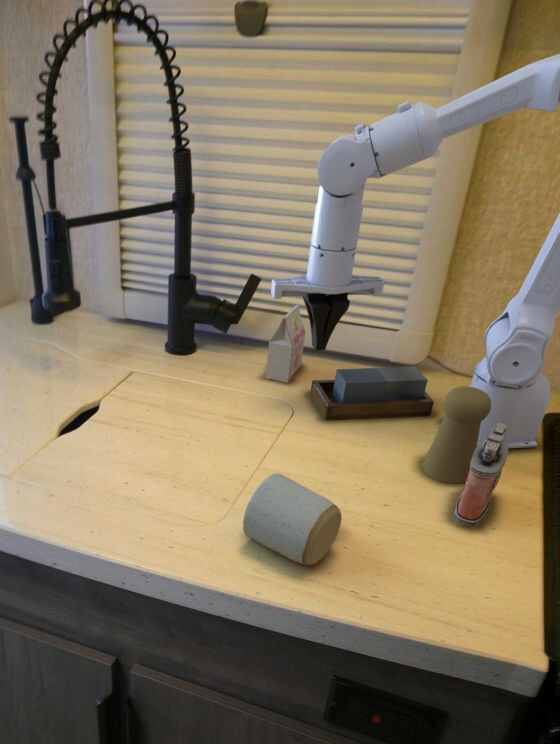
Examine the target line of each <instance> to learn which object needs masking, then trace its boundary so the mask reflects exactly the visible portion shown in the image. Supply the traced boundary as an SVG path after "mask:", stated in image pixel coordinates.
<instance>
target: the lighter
mask: <svg viewBox="0 0 560 744" xmlns="http://www.w3.org/2000/svg"><path fill="white" fill-rule="evenodd" d="M506 429H507V427H506V425H505V424H502V423H498V424H496V426H495V428H494V430H493V432H492V433H489V435H488V437H487V438H485V439H484V440H483V441H482V442H480V443H479V444H478V446H477V447H476V449H475V451H474V454H473V457H472V460H471V465H470V471H469V474H468V477H467V480H466V482H464V483H465V484H464V487H463V490H462V492H461V494H460V495H459V497H458V498H457V502H456V504H455V508H454V511H453V512H454V513H453V520H454V522H455V523H456V524H458V525H460V526H462V527H465V528H476V527H478V525H480V523H481V522H482V521H483V520H484V518H485V516H486V515H487V513H488V510H489V507H490V503H491V500H492V494H493V492H494V490H495V489H496V487H497V485H498V483H499V481H500V478H501V475H502V471H503V468H504V467H505V465H506V463H507V459H508V455H509V448H508V444H507V443H506V442H505V441H504V435H505V432H506Z"/></svg>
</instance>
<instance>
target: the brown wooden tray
mask: <svg viewBox="0 0 560 744" xmlns="http://www.w3.org/2000/svg"><path fill="white" fill-rule="evenodd" d="M375 368H376V369H377V370H378V371H379V372H380V373H381V375H382V376H383V377H384V378H385V380H386V381H387V384H386V388H385V393H384V397H383V401H371V402H346V403H338V402H337V400H336V399H335V397H334V396H333V394H332V393H333V387H334V381H335V379H316V380H315V379H314V380H311V386H310V391H309V392H310V393H309V395H310V396H311V398H312V399H313V401H314V403H315V405H316V407H317V408H318V410H319V412H320V414H321V416H322V417H323V419H324V420H325V421H338V420H359V419H361V420H362V419H363V420H364V419H383V418H386V419H387V418H405V417H406V418H407V417H409V418H410V417H428V416H429V417H430V416H431V415H432V412H433V408H434V404H435V400H434V399H432V397H431V396H430V395H429V394H428V393H427V392H426V388H427V385H428V381H429V380H428V379H427V377H426V376H425V375H424V374H423V373H422V372H421V371H420V370H419V369H418V368H417V366H394V367H393V366H392V367H389V366H388V367H375Z"/></svg>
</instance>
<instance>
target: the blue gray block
mask: <svg viewBox="0 0 560 744" xmlns="http://www.w3.org/2000/svg"><path fill="white" fill-rule="evenodd" d="M376 368H377V367H365V368H364V367H363V368H338V369H336V370H335V376H334V380H335V381H334V387H333V393H332V394H333V396H334V397H335V399H336V400H337V402H338V403H346V402H371V401H383V397H384V393H385V388H386V384H387V381H386V380H385V378H384V377H383V376H382V375H381V373H380V372H379V371H378V370H377V369H376Z"/></svg>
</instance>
